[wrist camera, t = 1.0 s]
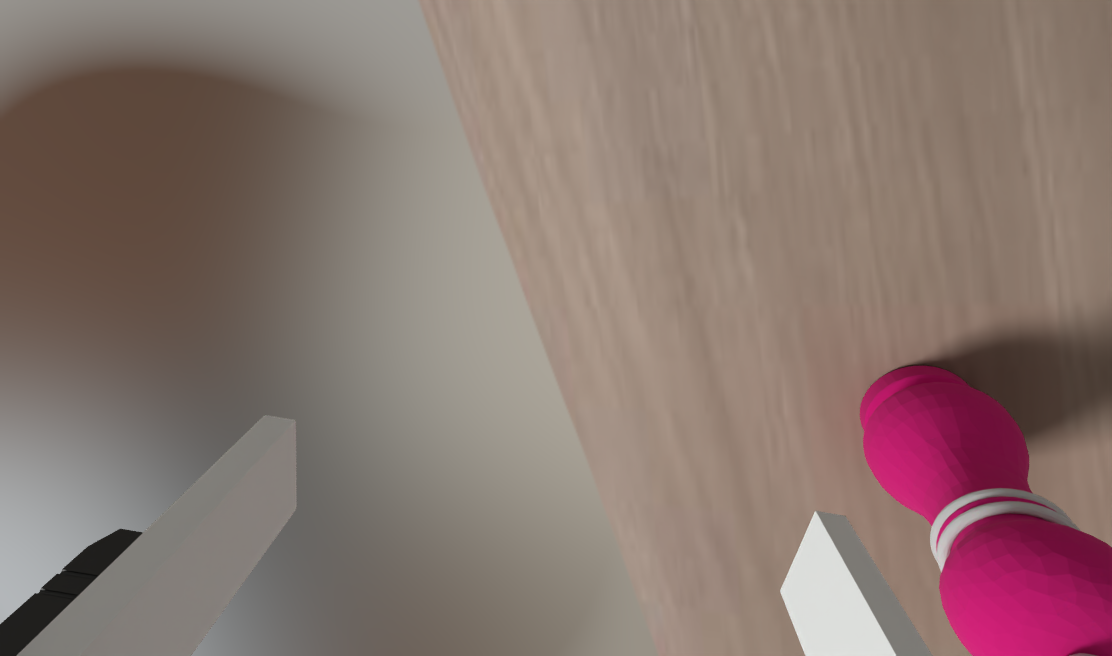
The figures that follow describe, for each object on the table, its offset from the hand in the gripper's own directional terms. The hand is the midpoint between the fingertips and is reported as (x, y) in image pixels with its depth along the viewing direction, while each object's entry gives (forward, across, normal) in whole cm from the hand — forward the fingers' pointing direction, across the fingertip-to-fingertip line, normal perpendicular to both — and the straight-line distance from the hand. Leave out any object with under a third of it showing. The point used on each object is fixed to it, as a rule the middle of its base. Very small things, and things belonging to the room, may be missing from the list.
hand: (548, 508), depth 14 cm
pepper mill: (+20, +22, -4) cm, 30 cm away
